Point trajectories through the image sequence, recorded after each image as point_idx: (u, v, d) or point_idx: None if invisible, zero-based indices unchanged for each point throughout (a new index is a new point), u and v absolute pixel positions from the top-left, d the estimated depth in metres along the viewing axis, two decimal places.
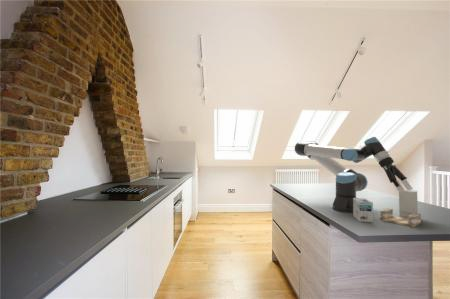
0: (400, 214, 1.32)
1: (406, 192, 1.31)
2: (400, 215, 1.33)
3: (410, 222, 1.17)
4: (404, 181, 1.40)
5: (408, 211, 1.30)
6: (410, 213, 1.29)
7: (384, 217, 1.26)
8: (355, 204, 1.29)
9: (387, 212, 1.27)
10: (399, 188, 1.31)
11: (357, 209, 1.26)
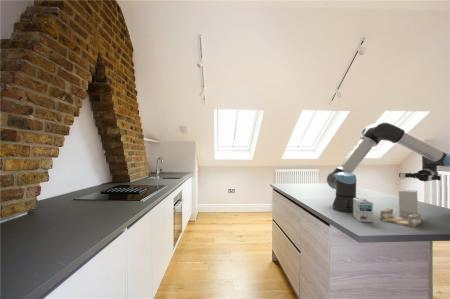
0: (400, 214, 1.32)
1: (406, 192, 1.31)
2: (400, 215, 1.33)
3: (410, 222, 1.17)
4: (404, 176, 1.47)
5: (408, 211, 1.30)
6: (410, 213, 1.29)
7: (384, 217, 1.26)
8: (355, 204, 1.29)
9: (387, 212, 1.27)
10: (431, 177, 1.34)
11: (357, 209, 1.26)
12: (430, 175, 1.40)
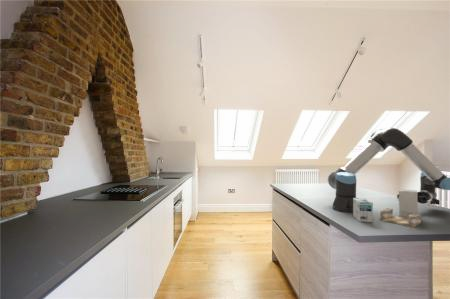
0: (400, 214, 1.32)
1: (406, 192, 1.31)
2: (400, 215, 1.33)
3: (410, 222, 1.17)
4: None
5: (408, 211, 1.30)
6: (410, 213, 1.29)
7: (384, 217, 1.26)
8: (355, 204, 1.29)
9: (387, 212, 1.27)
10: (430, 202, 1.32)
11: (357, 209, 1.26)
12: (429, 198, 1.37)
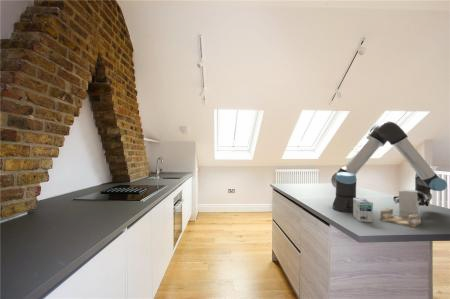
0: (400, 214, 1.32)
1: (406, 192, 1.31)
2: (400, 215, 1.33)
3: (410, 222, 1.17)
4: None
5: (408, 211, 1.30)
6: (410, 213, 1.29)
7: (384, 217, 1.26)
8: (355, 204, 1.29)
9: (387, 212, 1.27)
10: (418, 203, 1.27)
11: (357, 209, 1.26)
12: (419, 200, 1.32)
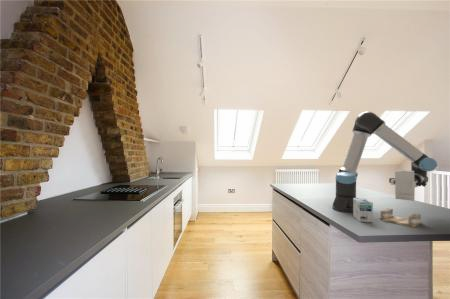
0: (396, 195, 1.26)
1: (403, 172, 1.24)
2: (396, 196, 1.26)
3: (410, 222, 1.17)
4: None
5: (405, 192, 1.24)
6: (407, 194, 1.23)
7: (384, 217, 1.26)
8: (355, 204, 1.29)
9: (387, 212, 1.27)
10: (415, 183, 1.21)
11: (357, 209, 1.26)
12: (416, 180, 1.26)
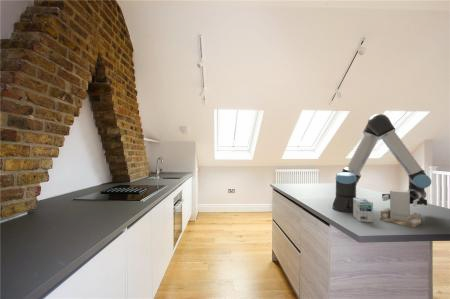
0: (391, 216, 1.25)
1: (397, 192, 1.23)
2: (391, 217, 1.25)
3: (410, 222, 1.17)
4: (388, 198, 1.31)
5: (400, 212, 1.22)
6: (402, 215, 1.22)
7: (384, 217, 1.26)
8: (355, 204, 1.29)
9: (387, 212, 1.27)
10: (416, 202, 1.18)
11: (357, 209, 1.26)
12: (416, 198, 1.24)
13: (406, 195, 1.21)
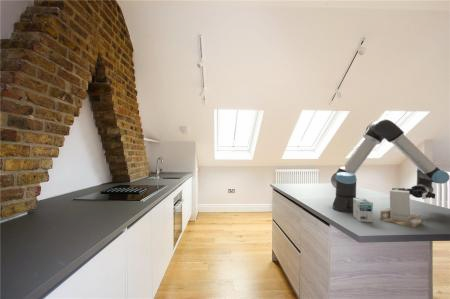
0: (391, 216, 1.25)
1: (397, 192, 1.23)
2: (391, 217, 1.25)
3: (410, 222, 1.17)
4: None
5: (400, 212, 1.22)
6: (402, 215, 1.22)
7: (384, 217, 1.26)
8: (355, 204, 1.29)
9: (387, 212, 1.27)
10: (425, 195, 1.27)
11: (357, 209, 1.26)
12: (424, 192, 1.32)
13: (406, 195, 1.21)
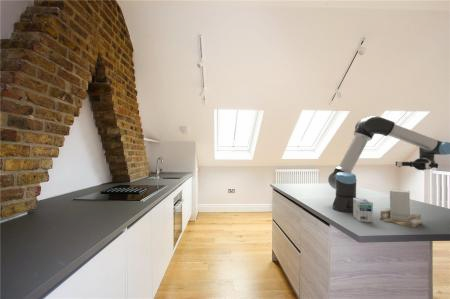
0: (391, 216, 1.25)
1: (397, 192, 1.23)
2: (391, 217, 1.25)
3: (410, 222, 1.17)
4: (401, 164, 1.44)
5: (400, 212, 1.22)
6: (402, 215, 1.22)
7: (384, 217, 1.26)
8: (355, 204, 1.29)
9: (387, 212, 1.27)
10: (428, 165, 1.31)
11: (357, 209, 1.26)
12: None
13: (406, 195, 1.21)
